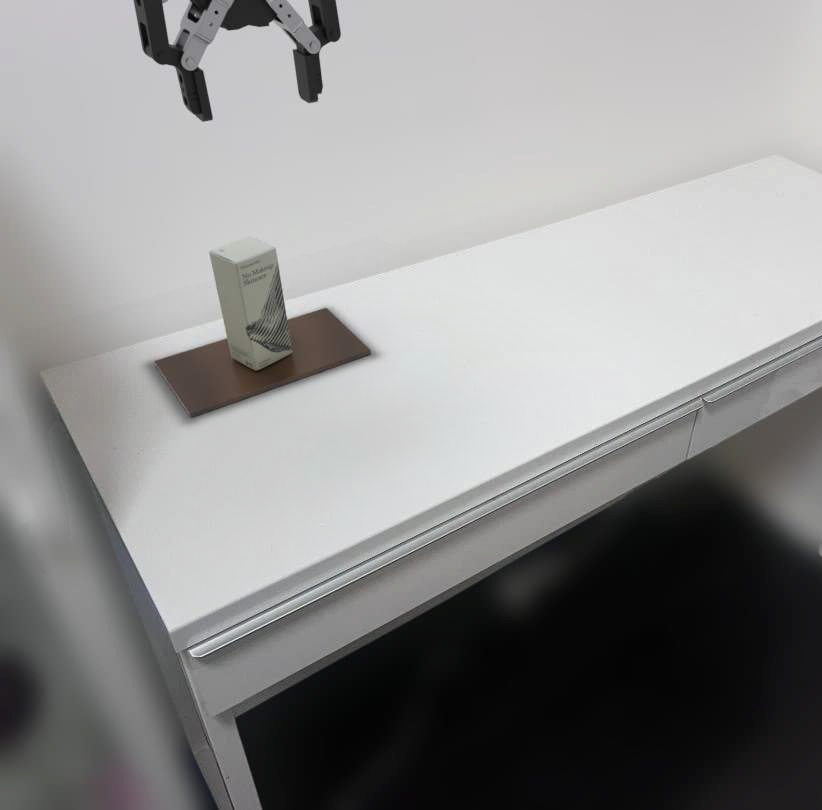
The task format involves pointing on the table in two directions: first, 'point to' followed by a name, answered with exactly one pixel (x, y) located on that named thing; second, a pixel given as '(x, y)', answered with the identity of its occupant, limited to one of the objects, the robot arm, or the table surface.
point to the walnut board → (232, 381)
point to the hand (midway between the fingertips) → (257, 109)
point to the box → (252, 301)
